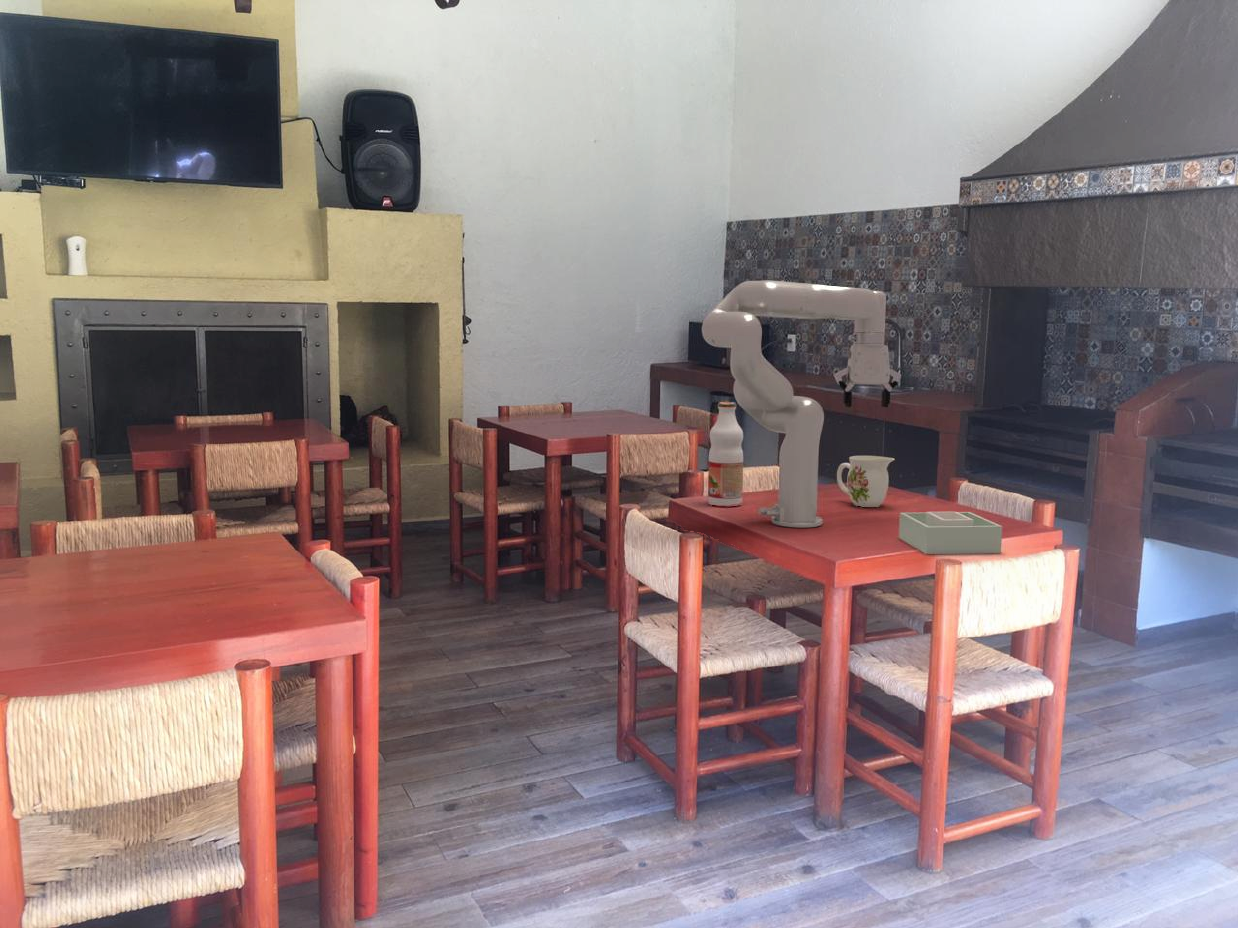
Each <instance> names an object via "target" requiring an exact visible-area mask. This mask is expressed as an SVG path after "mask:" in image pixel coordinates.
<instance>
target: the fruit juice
mask: <svg viewBox="0 0 1238 928" xmlns="http://www.w3.org/2000/svg"><path fill="white" fill-rule="evenodd" d="M717 409H718V415H717V419H716V422H715V424H713V426H712V427H711V429H710V430H709V439H710V440H709V441H710V448H709V451H708V468H707V469H708V474H707V475H708V477H707V478H708V479H707V480H708V481H707V502H710V503H713V504H718V505H731V504H739V503H742V504H743V490H744V488H743V487H744V486H743V485H744V483H743V482H744V450H743V448H742V443H743V440H744V431H743V429H742V427H741V426H740V425H739V423H738V421H737V416H736V410H737V403H736V402H735V401H734V402H733V401H721V402H718V403H717Z"/></svg>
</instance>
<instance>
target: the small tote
mask: <svg viewBox="0 0 1238 928" xmlns="http://www.w3.org/2000/svg"><path fill="white" fill-rule="evenodd" d="M958 512H959V511H958ZM958 512H957V511H926V512H925V513H926V525H928V526H929V527H932V526H973V523H974V520H973V519H971V518H968V517H966V516H964V515H962V514H960V513H958Z"/></svg>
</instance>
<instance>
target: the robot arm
mask: <svg viewBox="0 0 1238 928" xmlns="http://www.w3.org/2000/svg"><path fill="white" fill-rule="evenodd" d="M886 306H887V295H886V294H885V292H884V291H881V290H872V289H868V288H861V287H860V288H859V287H848V286H847V287H846V286H836V285H834V286H832V285H826V284H818V283H817V284H816V283H806V282H805V283H804V282H803V283H802V282H793V281H780V280H769V279H767V280H747V281H744V282H741V283H739V284H738V285H737V286H735V287H734V288H733V289H732V290H731V291H730V292H729V293H728V294H726V296H725V297H724V298H723V299H722V300H720V301H719V302H718V304H717V305H715V306H714V307H713V308H712V310H710V311H709V312H708V313H707V315H706V316H705V318H704V320H703V322H702V326H701V334H702V338H703V340H704V341H705V342H706V343H707V344H709V345H710V346H713V347H715V348H725V349H726V348H727V349H728V348H729V349H730V362H729V363H730V364H729V365H730V373H731V375H732V377H733V379H734V382H733V395H734V398H735V400H736V402H737V404H738V405H739V407H741V408H742V409H743V410H744V411H745V412H746V413H747V414H748V415H749V416H751V417H752V418H753V419H754V420H755V421H756V422H758V423H759V424H760V425H761V426H762V427H764V428H765V429H767V430H768V431H770V432H774V433H780V434H785V437H784V439H783V441H782V444H781V446H780V450H779V458H778V459H779V461H778V463H779V465H778V467H779V468H778V495H777V500H778V502H777V503H774V506H773V505H772V506H771V507H759V508H758V515H759V516H766V517H771V521H770V522H771V523H772V524H774V525H776V526H781V527H785V528H800V529H802V528H816V527H820V526H822V525H823V524H824V523H823V522H824V521H823V519H822V517H819V516H817V510H818V509H817V508H818V480H819V477H818V476H819V475H818V474H819V452H820V451H819V450H820V448H819V447H820V440H821V435H822V431H823V427H824V426H823V425H824V423H825V422H824V421H825V413H824V410H823V407H822V406H821V404H820V403H819V402H818V401H816V400H815V399H813V398H811V397H807V396H798V395H794V393H795V392H794V387H793V386H792V384H791V383H790V381H789V380H788V379H787V378H786V377H785V376H784V375H783V374H782V373H781V372H780V371H779V370H777V369H776V368H775V367H774V366H773V365H772V364H771V363H770V362H769V361H768V360H767V359H766V358H765V357H764V355H763V352H762V335H763V330H762V329H763V328H762V325H761V322H760V320H759V319H758V318H757V317H771V318H772V317H773V318H784V319H785V318H787V319H800V320H801V319H802V320H821V319H836V320H841V321H842V320H844V321H845V320H846V321H851V320H852V321H853V320H854V332H853V334H850V335H848V341H852V342H853V344H851V346H850V350H849V355H848V361H847V367H846V368H843V369H842V370H840V371H838V372H835V373H834V374H833V376H834V378H835V381H836V383H837V385H838V386H839V387H840V388H841V390H842V391H843V404H844V406H845V407H846V408H851V407H852V403H853V400H852V399H853V392H852V391H851V390H852V388H853V387H854V386H855V385H861V386H862V385H865V386H866V385H874V386H875V385H880V386H881V387H882V388H883V390H882V391H881V407H883V408H888V407H889V405H890V402H891V392H892V391H893V390H894V389H895V388H896V386H897V385H898V384H899V382H900V379H901V378H902V374H901V373H899V372H898V371H896V370H894V369H892V368H890V367H891V366H890V353H889V347H888V345H885V334H886V333H885V329H886V309H887V307H886ZM843 376H846V383H845V382H844V381H843V378H842V377H843ZM891 376H892V377H893V378H892V380H891V381H890V379H891V378H890V377H891Z"/></svg>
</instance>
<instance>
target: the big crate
mask: <svg viewBox="0 0 1238 928" xmlns="http://www.w3.org/2000/svg"><path fill="white" fill-rule="evenodd" d="M958 513H960V514H962V515H964V516H966V517H968V518H971V519H973V520H974V523H973V526H932V527H929V526H928V525H926V512H899V522H898V523H899V524H898V539H900V540H901V541H902V542H904V543H906V544H908V545H910V546H911V547H913V548H915V549H916V550H918V551H920V552H922V553H923V554H925V555H956V554H957V555H960V554H961V555H963V554H964V555H966V554H968V555H970V554H971V555H972V554H974V555H975V554H978V555H979V554H1001V553H1002V541H1003V526H1002V525H1001V524H998V523H996V522H994V521H991V520H989V519H987V518H984V517H982V516H980V515H978V514H975V513H973V512H971V511H958Z"/></svg>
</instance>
